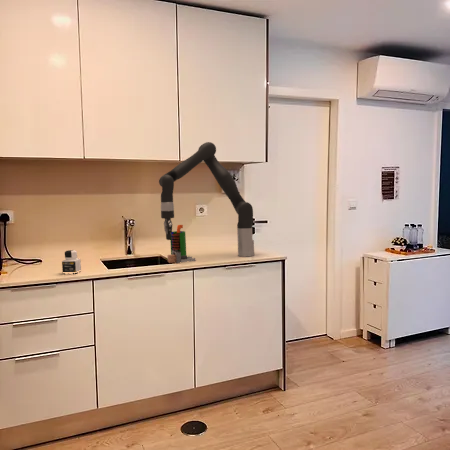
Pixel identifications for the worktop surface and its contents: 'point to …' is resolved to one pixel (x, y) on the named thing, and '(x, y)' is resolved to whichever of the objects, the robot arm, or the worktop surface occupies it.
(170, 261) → the plug
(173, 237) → the motor
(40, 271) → the worktop surface
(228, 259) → the worktop surface
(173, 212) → the robot arm
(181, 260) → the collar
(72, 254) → the medicine bottle
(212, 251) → the worktop surface
